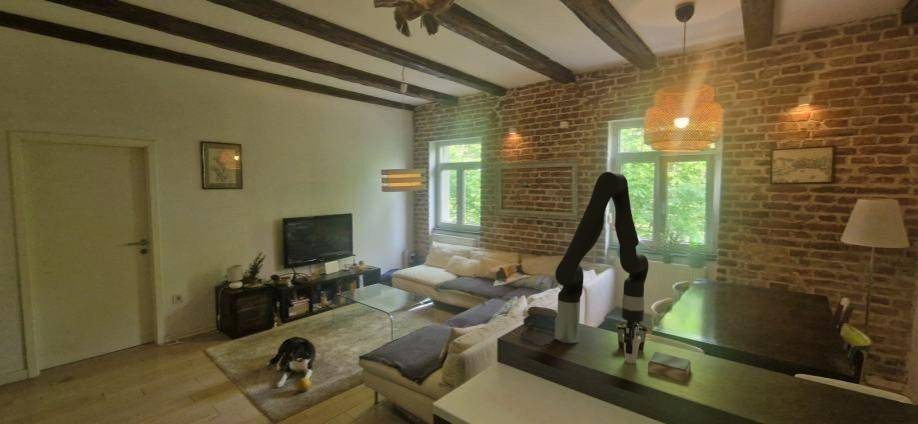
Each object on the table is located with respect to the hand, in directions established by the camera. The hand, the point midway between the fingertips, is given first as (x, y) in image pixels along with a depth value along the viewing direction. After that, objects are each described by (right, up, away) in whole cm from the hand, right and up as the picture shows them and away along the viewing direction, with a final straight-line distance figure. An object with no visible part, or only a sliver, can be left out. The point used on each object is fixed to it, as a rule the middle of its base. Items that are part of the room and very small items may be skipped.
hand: (631, 350), depth 147 cm
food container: (+5, -4, +14) cm, 15 cm away
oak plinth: (+10, -5, -8) cm, 14 cm away
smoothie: (0, -4, 0) cm, 4 cm away
